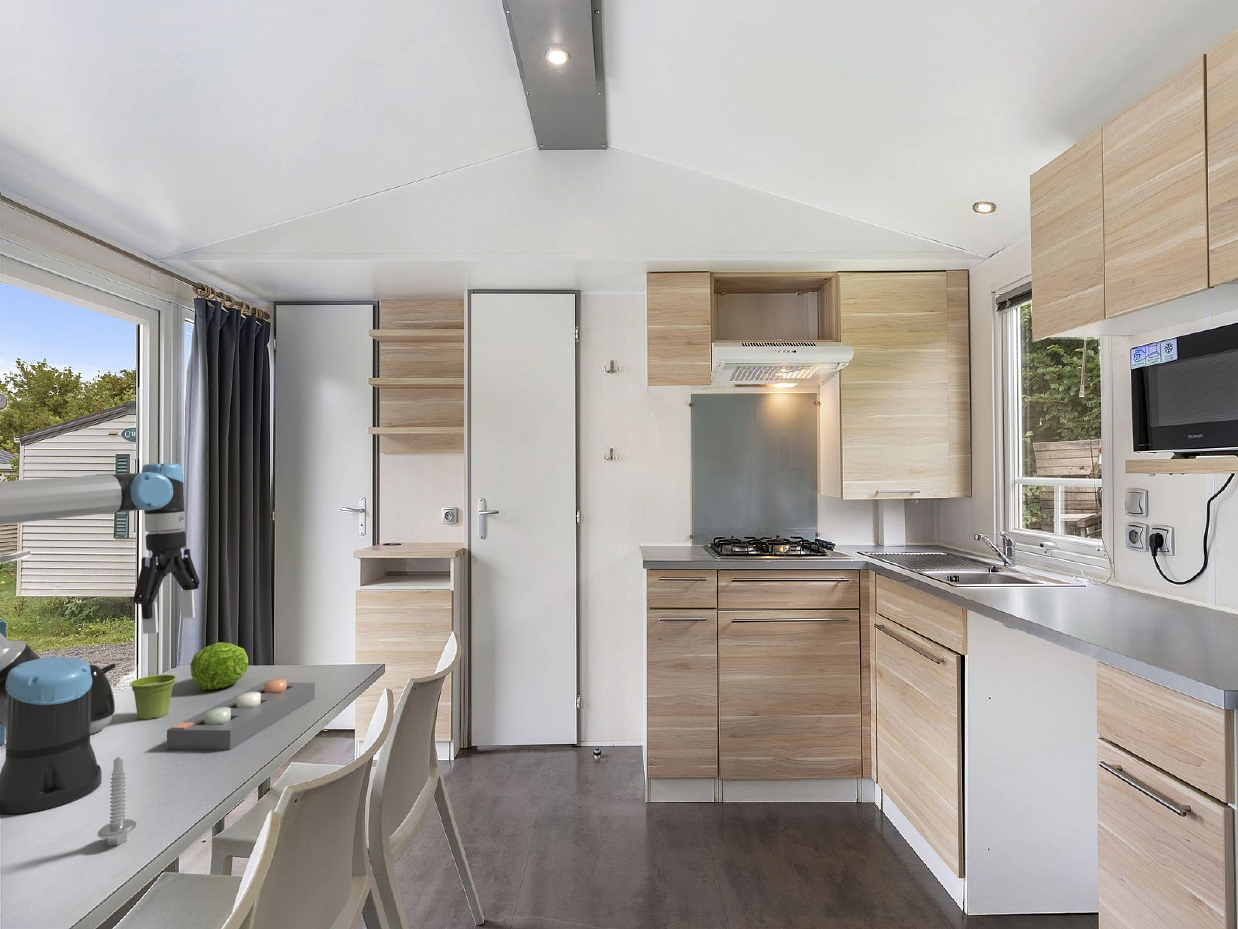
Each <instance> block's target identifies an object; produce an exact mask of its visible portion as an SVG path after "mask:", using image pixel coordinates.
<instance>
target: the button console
mask: <svg viewBox="0 0 1238 929" xmlns="http://www.w3.org/2000/svg"><path fill="white" fill-rule="evenodd" d="M264 683H265V682H261V683H259V684H257V685H255V686H253V687H251V688H250V689H247V690H245V691H243V692H241V693H239V694H237V695H235V696H233V697H231V698H229V699H227V700H225V701H223V702H221V703H218V704H216V705H215V706H213V707H210V708H208V709H206V710H204V711H203V712H200V713H199V714H196V715H194V716H192V717H191V718H188V719H186V720H184V721H181V722H179V723H177V724H175V725H173V726H172V727H171V726H170V728H167V730H166V750H217V751H218V750H224V751H225V750H229V751H230V750H232V749H234V748H236V747H238V746H239V745H240V744H242V743H244V742H245V741H247V740H248V739H250V738H252V737H254V736H255V735H257V734H258V733H260V732H262V731H263V730H265V729H267V728H268V727H271V725H274V724H275V723H277V722H278V721H280V720H281V719H283V718H285V717H287V716H288V715H289V714H291V713H293V712H295V711H296V710H297V709H300V708H301V707H303V706H304V705H307V704H308V703H309V702H311V701H312V700H315V696H316V693H315V692H316V690H315V689H316V683H315V682H287V690H286V691H284V692H282V693H264ZM249 692H259V693H261V704H260V705H258V706H256V707H254V708H236V697H237V696H238V695H240V694H244V693H249ZM220 707H229V708H231V720H230V721H228V722H227V723H225V724H223V725H204V713H205V712H206V711H208V710H210V709H214V708H220Z"/></svg>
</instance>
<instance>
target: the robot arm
mask: <svg viewBox="0 0 1238 929" xmlns="http://www.w3.org/2000/svg"><path fill="white" fill-rule="evenodd" d="M184 485H185V481H184V473H183V469H182V466H181V465H180V464H179V463H176V462H175V463H172V462H171V463H147V464H144V465H142V467H141V472H134V473H131V472H129V473H108V474H107V473H103V474H99V473H96V474H90V475H89V474H88V475H84V476H72V477H71V476H70V477H68V476H67V477H66V476H65V477H52V478H50V477H49V478H36V479H35V478H34V479H20V480H19V479H18V480H3V481H0V525H9V524H18V523H20V524H21V523H27V522H37V521H39V522H40V521H47V520H55V519H65V518H67V519H68V518H75V517H85V516H93V515H95V516H96V515H103V514H104V515H105V514H114V513H125V512H135V511H144V512H143V514H144V531H145V532H146V535H145V548H146V550H147V551H148V552H152V553H151V556H144V557H142V558H141V565H140V566H141V568H140V572H139V575H138V579H137V583H136V588H135V590H134V595H133V598H132V603H135V605H140V606H141V618H142V634H144V635H147V634H158V633H159V620H158V619H159V617H158V602H155V600H156V597H157V595H158V593H159V590H160V589H161V585H162V583H163V580H164V579H165V577H167V576H168V575H169V574H172V576H173V577H174V579H175V580H176V582H177V583H178V585H179V586H180V587H181V590H180V591H179V598H180V599H179V600H180V601H179V602H180V603H179V604H180V619H181V620H182V619H194V618H195V617H196V614H195V611H196V610H195V596H194V595H195V593H194V590H198V589H199V588H200V587H199V585H200V582H201V581H200V579H199V576H198V574H197V573H198V572H197V571H196V567H195V565H194V563H193V560H192V557H191V549H190V548H185V547H186V546H187V534H186V532H185V531H184V529H185V528H186V522H185V521H186V516H185V495H184V493H185V492H184ZM89 664H90V663H88V662H87V661H86V660H84V659H81V658H79V657H78V658H77V657H71V656H68V657H64V656H53V657H44V658H41V657H40V656H39V655H38V654H37V653H36V652H35V651H34V650H33V649H32V648H31V647H30V646H29V645H28V643H26V642H25V641H24V640H8V639H7V638H6V637H5V636H4V635H3V634H2V633H1V632H0V725H1V726H3V727H5V759H4V762H3V765H2V768H1V771H0V814H3V815H14V814H27V813H32V812H38V811H41V810H42V811H43V810H47V809H52V808H55V807H59V806H61V805H62V806H63V805H65V804H67V803H71V802H73V801H76V800H78V799H81V798H83V797H85V796H88V794H91V793H93V791H95V790H97V789H98V788H99V787H100V785H101V784H102V781H103V780H102V777H103V776H102V773H103V772H102V768H101V766H100V765H99V764H98V763H97V759H96V758H97V757H96V754H95V751H94V749H93V747H92V744H91V734H90V723H91V685H92V676H91V669H90V666H89Z"/></svg>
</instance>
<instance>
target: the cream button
mask: <svg viewBox="0 0 1238 929" xmlns="http://www.w3.org/2000/svg"><path fill="white" fill-rule="evenodd" d="M239 694H240V695H239ZM239 694H237V695H238V696H237V695H236V696H237V697H236V708H254V707H256V706H258V705H260V704H261V693H259V692H249V693H244V694H241V693H239Z"/></svg>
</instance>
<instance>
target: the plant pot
mask: <svg viewBox="0 0 1238 929" xmlns="http://www.w3.org/2000/svg"><path fill="white" fill-rule="evenodd" d="M177 678H178V676H177V675H175V674H166V673H165V674H156V675H148V676H144V677H143V676H142V677H140V678H137V679H134V680H132V681H131V682H130V683H129V685H130V687H131V689H132V692H133V695H134V700H135V708H136V714H137V718H138V719H139V720H145V719H148V720H151V719H153V718H155V719H156V718H157V719H158V718H159V719H160V718H162V717H165V716H166V715H168V714H169V709H170V703H171V699H172V698H171V697H172V692H173V688H174V685H175V682H176V680H177Z"/></svg>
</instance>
